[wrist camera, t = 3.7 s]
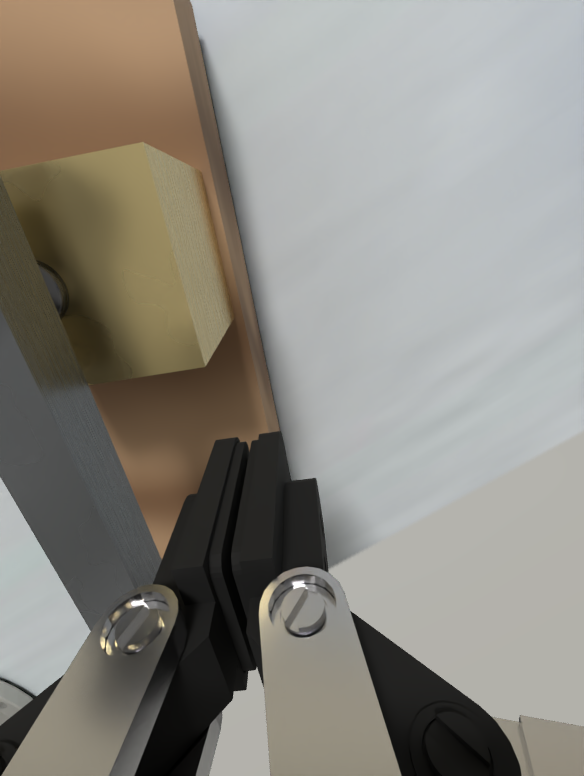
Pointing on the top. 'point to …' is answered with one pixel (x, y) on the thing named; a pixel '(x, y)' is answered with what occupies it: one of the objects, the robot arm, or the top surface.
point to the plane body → (178, 139)
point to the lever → (62, 443)
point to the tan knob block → (126, 258)
